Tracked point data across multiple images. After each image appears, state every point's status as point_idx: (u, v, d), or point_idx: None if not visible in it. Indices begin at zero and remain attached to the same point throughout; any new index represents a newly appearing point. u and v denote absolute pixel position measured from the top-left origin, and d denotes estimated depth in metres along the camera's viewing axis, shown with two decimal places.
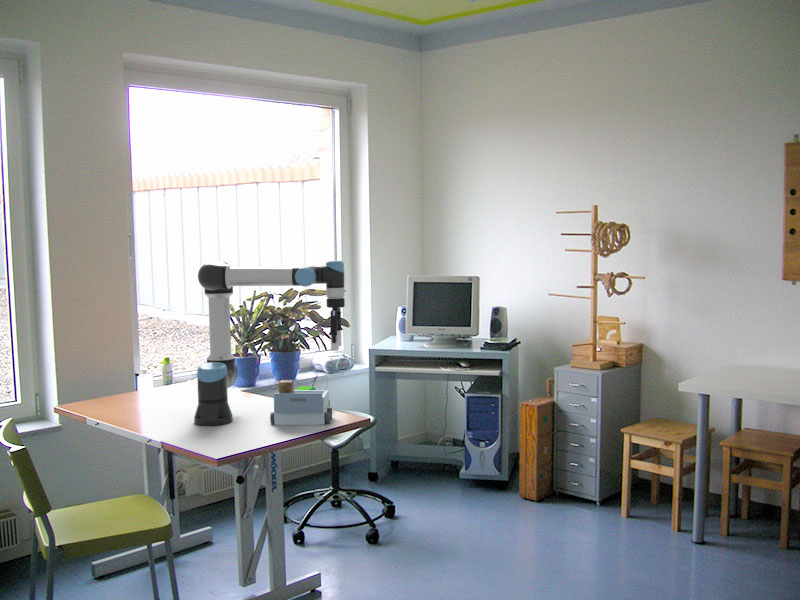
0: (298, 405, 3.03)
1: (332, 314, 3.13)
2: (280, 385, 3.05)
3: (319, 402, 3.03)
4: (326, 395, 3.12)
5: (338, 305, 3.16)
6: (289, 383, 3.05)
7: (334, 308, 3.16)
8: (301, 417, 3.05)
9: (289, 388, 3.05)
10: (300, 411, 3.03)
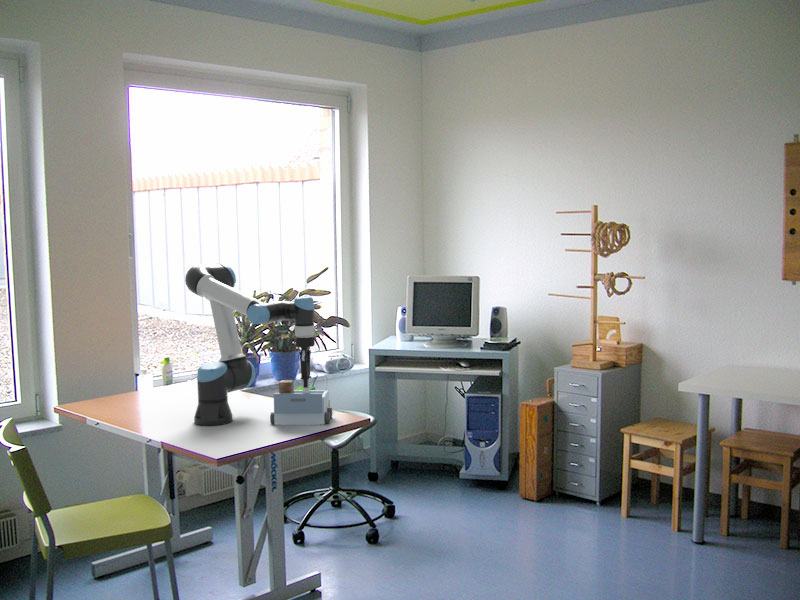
0: (298, 405, 3.03)
1: (301, 360, 2.97)
2: (280, 385, 3.05)
3: (318, 403, 3.02)
4: (326, 395, 3.12)
5: (307, 344, 2.99)
6: (289, 383, 3.05)
7: (303, 348, 2.98)
8: (301, 417, 3.05)
9: (289, 388, 3.05)
10: (300, 411, 3.03)
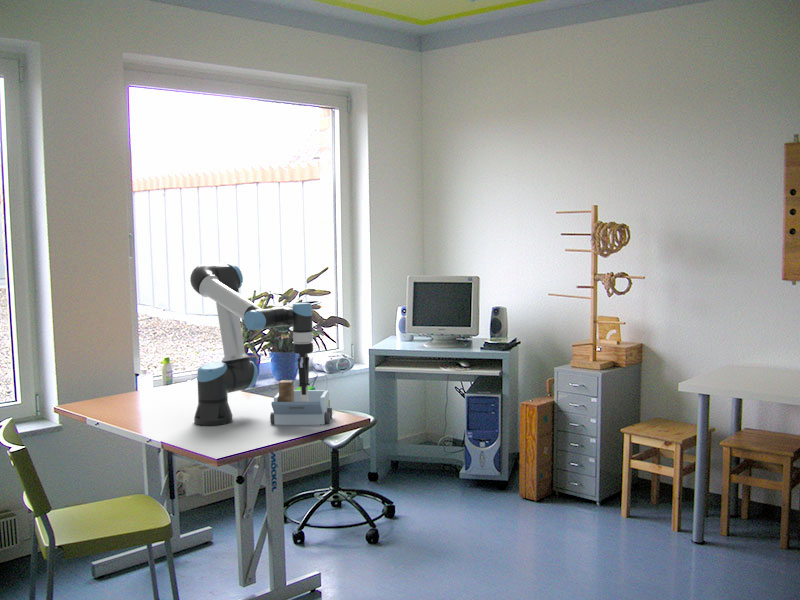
0: (297, 410, 3.01)
1: (299, 367, 2.93)
2: (280, 385, 3.05)
3: (318, 409, 3.00)
4: (326, 395, 3.12)
5: (306, 351, 2.94)
6: (289, 383, 3.05)
7: (301, 354, 2.94)
8: (301, 417, 3.05)
9: (289, 388, 3.05)
10: (300, 413, 3.03)
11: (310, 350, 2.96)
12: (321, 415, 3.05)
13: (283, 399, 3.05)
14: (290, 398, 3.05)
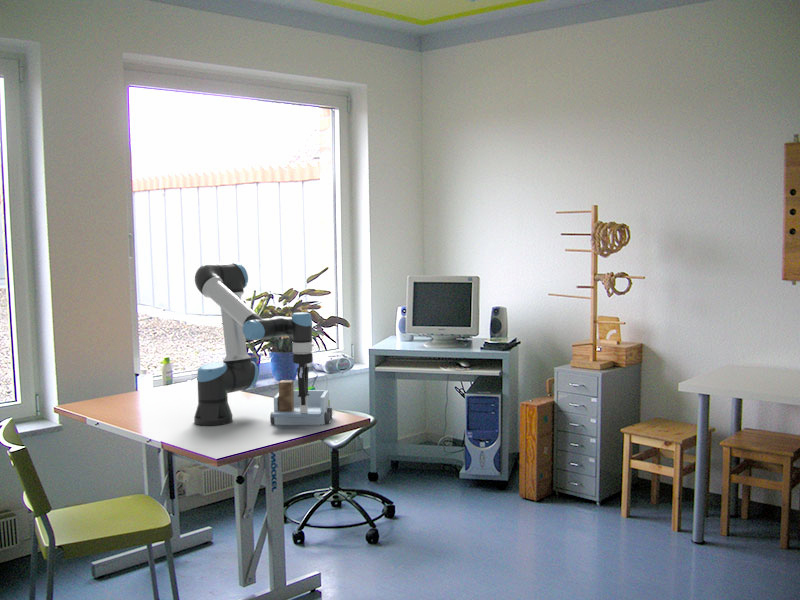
0: None
1: (299, 377, 2.91)
2: (280, 385, 3.05)
3: None
4: (326, 395, 3.12)
5: (305, 361, 2.93)
6: (289, 383, 3.05)
7: (301, 364, 2.92)
8: (301, 417, 3.05)
9: (289, 388, 3.05)
10: None
11: (309, 360, 2.94)
12: None
13: (283, 399, 3.05)
14: (290, 398, 3.05)
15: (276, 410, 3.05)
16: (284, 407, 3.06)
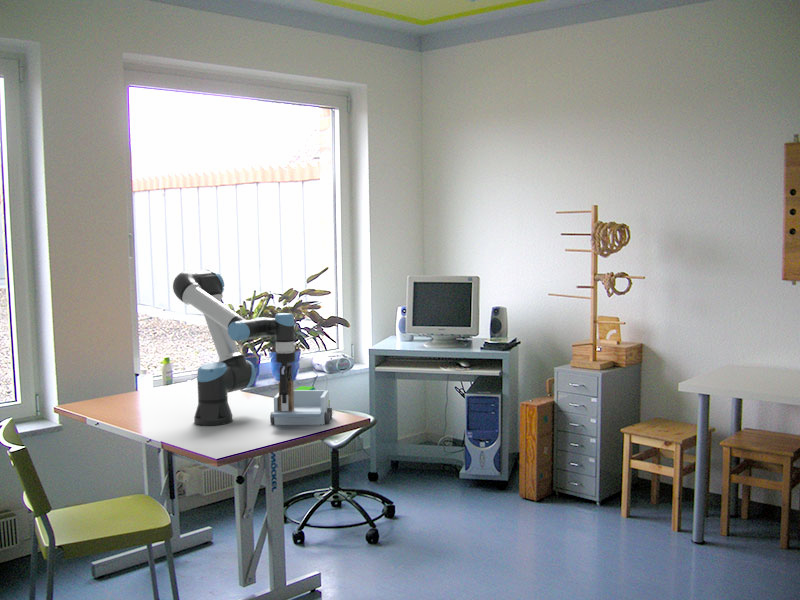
0: None
1: (281, 373, 3.00)
2: None
3: None
4: (326, 395, 3.12)
5: (287, 360, 3.03)
6: (289, 383, 3.05)
7: (283, 363, 3.02)
8: None
9: (289, 388, 3.05)
10: None
11: (292, 359, 3.04)
12: None
13: None
14: (290, 398, 3.05)
15: (276, 410, 3.05)
16: None
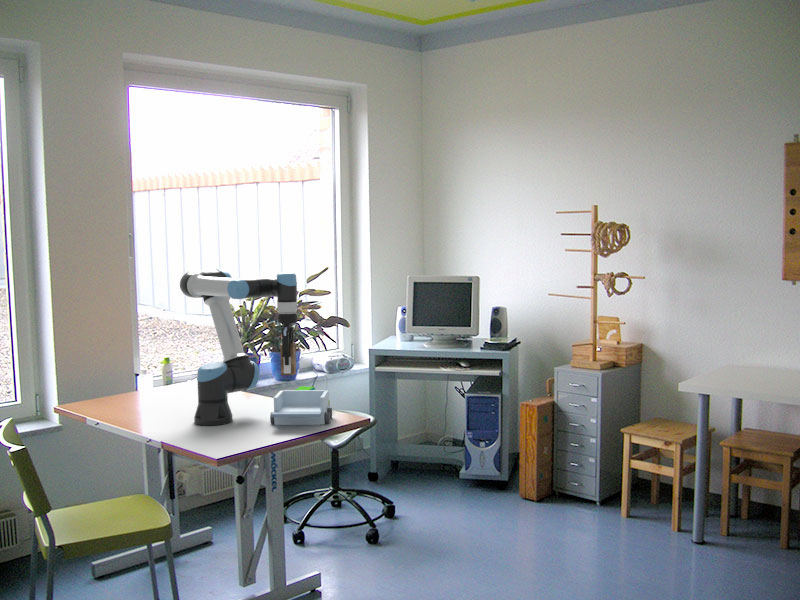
0: None
1: (283, 335, 2.92)
2: None
3: None
4: (326, 395, 3.12)
5: (290, 321, 2.94)
6: (291, 345, 2.96)
7: (285, 324, 2.94)
8: None
9: (291, 350, 2.96)
10: None
11: (294, 320, 2.95)
12: None
13: None
14: (292, 361, 2.96)
15: (276, 410, 3.05)
16: None
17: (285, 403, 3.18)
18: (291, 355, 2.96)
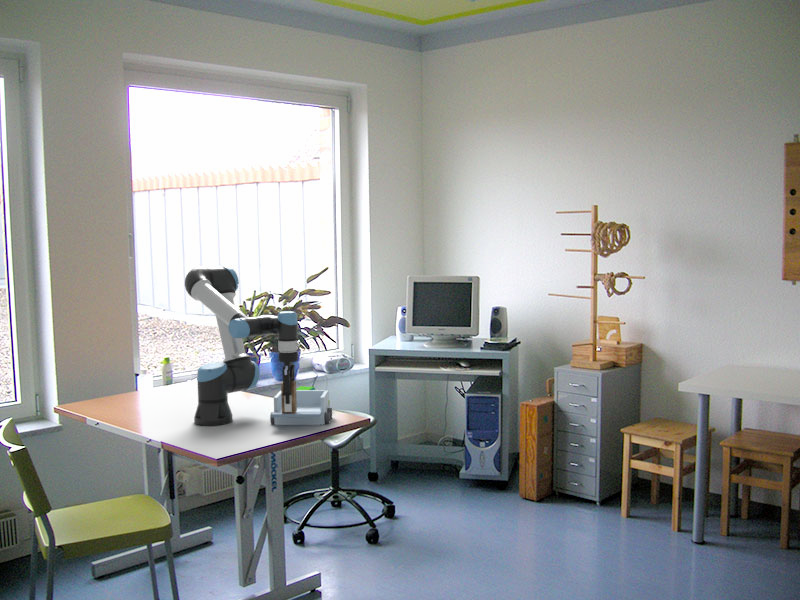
0: None
1: (284, 374, 2.93)
2: (282, 386, 2.97)
3: None
4: (326, 395, 3.12)
5: (290, 360, 2.95)
6: (292, 384, 2.97)
7: (286, 363, 2.95)
8: None
9: (292, 389, 2.97)
10: None
11: (295, 359, 2.96)
12: None
13: None
14: (293, 399, 2.97)
15: (276, 410, 3.05)
16: None
17: None
18: (292, 394, 2.97)
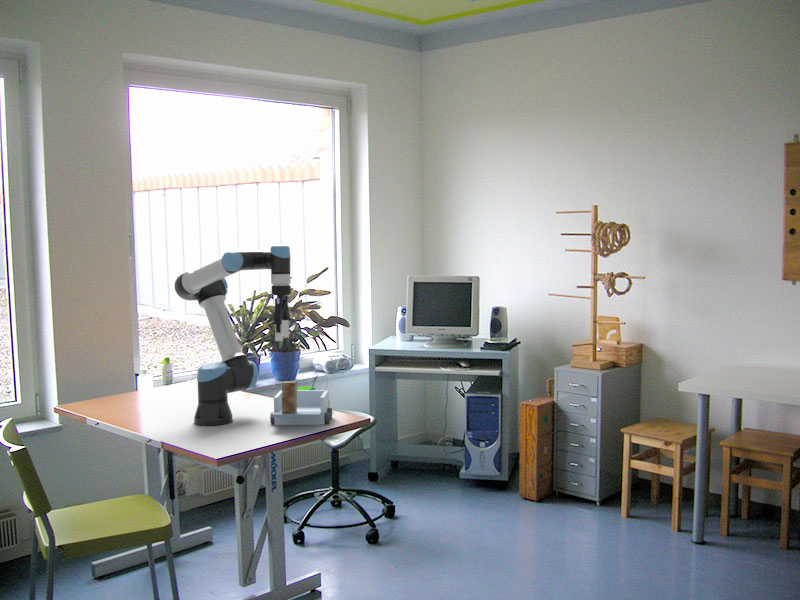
0: None
1: (276, 302, 2.94)
2: (283, 385, 2.98)
3: None
4: (326, 395, 3.12)
5: (283, 292, 2.97)
6: (292, 383, 2.98)
7: (279, 296, 2.97)
8: None
9: (292, 389, 2.98)
10: None
11: (288, 292, 2.99)
12: None
13: (285, 399, 2.98)
14: (293, 399, 2.98)
15: (276, 410, 3.05)
16: (287, 408, 2.98)
17: None
18: (292, 393, 2.98)
